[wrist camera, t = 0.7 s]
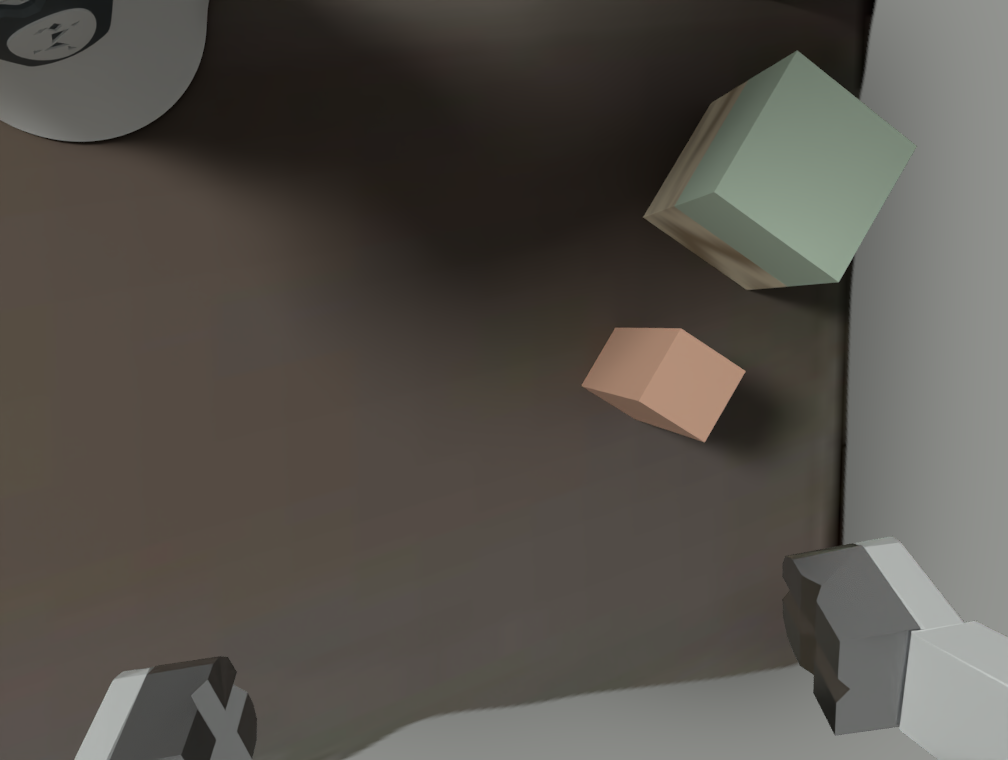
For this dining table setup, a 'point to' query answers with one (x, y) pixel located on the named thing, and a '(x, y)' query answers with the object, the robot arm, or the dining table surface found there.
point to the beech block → (687, 228)
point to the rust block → (664, 379)
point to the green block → (796, 174)
